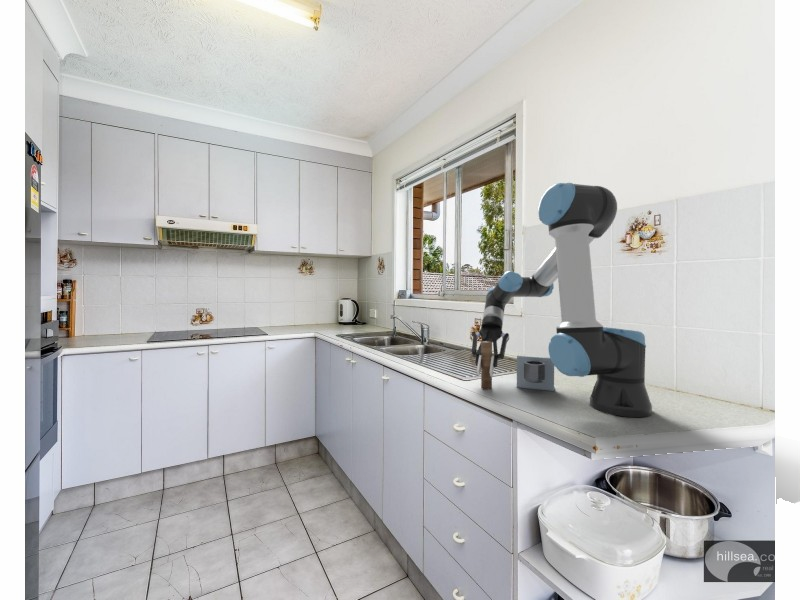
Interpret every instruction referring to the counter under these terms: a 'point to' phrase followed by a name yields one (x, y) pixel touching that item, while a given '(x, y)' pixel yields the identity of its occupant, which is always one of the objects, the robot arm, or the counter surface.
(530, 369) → the cup bracket
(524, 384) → the wall board
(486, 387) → the rail post
